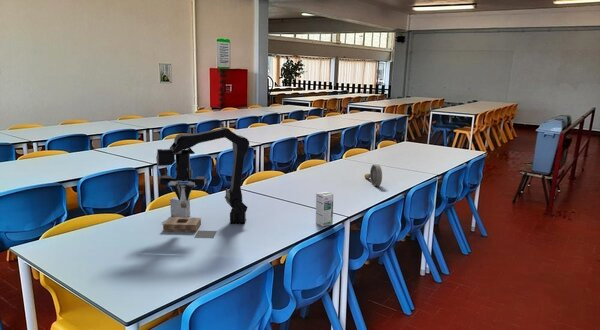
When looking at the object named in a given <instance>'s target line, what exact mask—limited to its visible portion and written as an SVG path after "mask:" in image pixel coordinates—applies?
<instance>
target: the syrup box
mask: <svg viewBox="0 0 600 330" xmlns="http://www.w3.org/2000/svg"><path fill="white" fill-rule="evenodd" d="M315 195H316V196H315V224H317V225H319V226H321V227H327V226H330V225H331V226H332V225H333V220H334V219H333V218H334V215H333V214H334V194H333V193H331V192H329V191H324V192H317V193H315Z"/></svg>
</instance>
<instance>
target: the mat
mask: <svg viewBox="0 0 600 330" xmlns="http://www.w3.org/2000/svg"><path fill="white" fill-rule="evenodd" d="M217 233H218V231H217V230H200V229H198V230H197V232H196V233H195V235H194V236H193V238H194V239H214V238H215V236H216V235H217Z"/></svg>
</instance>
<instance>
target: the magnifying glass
mask: <svg viewBox="0 0 600 330" xmlns="http://www.w3.org/2000/svg"><path fill="white" fill-rule="evenodd" d="M370 167H371V168H370V172H369V173H365V174H364V178H365V179H370V183H371V185H372V186H373V187H379V186H381V184H382V182H383V181H382V180H383V170H382V167H381V165H380V164H372V165H371V166H370Z"/></svg>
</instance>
